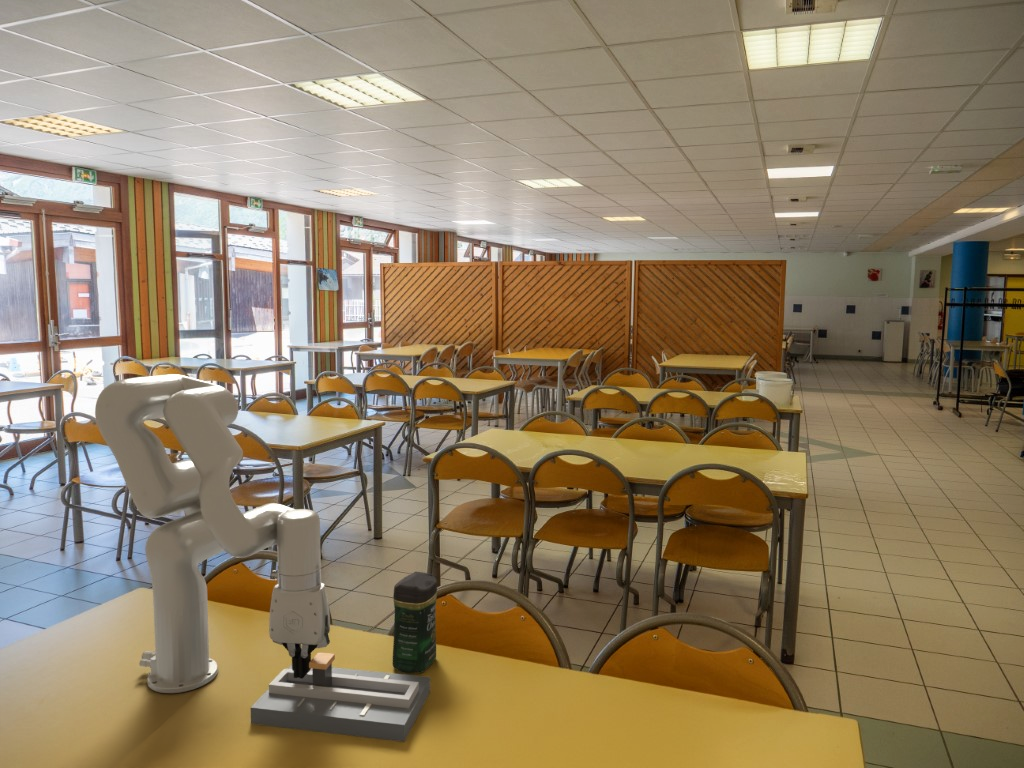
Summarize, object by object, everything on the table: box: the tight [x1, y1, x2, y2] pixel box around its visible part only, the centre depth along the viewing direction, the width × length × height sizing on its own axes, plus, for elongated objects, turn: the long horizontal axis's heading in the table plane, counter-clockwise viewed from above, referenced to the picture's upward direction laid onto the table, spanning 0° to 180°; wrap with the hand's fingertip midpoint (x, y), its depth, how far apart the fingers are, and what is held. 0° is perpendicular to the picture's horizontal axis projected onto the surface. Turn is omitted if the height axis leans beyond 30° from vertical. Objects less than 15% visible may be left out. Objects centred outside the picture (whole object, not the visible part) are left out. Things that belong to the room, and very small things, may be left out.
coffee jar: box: [392, 571, 438, 675], centre depth 146 cm, size 10×8×19 cm
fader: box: [309, 651, 336, 687], centre depth 131 cm, size 3×4×6 cm
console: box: [250, 663, 431, 743], centre depth 131 cm, size 28×16×5 cm, turn 81°
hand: (301, 674), depth 131 cm, fingers closed
